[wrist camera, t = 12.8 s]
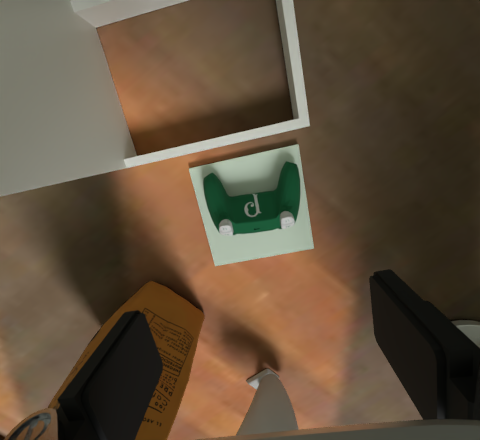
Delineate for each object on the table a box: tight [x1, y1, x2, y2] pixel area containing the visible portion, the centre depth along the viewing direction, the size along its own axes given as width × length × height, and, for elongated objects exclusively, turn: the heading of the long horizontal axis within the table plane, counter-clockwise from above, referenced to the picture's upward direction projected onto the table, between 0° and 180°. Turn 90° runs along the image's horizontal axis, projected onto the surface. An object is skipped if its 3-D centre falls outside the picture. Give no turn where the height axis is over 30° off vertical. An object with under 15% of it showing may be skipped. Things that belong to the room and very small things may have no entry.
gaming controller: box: [203, 161, 301, 236], centre depth 25 cm, size 9×4×6 cm
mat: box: [189, 144, 314, 266], centre depth 27 cm, size 11×11×1 cm
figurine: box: [236, 368, 299, 436], centre depth 29 cm, size 8×5×12 cm
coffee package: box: [48, 281, 204, 440], centre depth 22 cm, size 10×12×22 cm
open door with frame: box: [0, 0, 310, 196], centre depth 16 cm, size 18×14×17 cm
